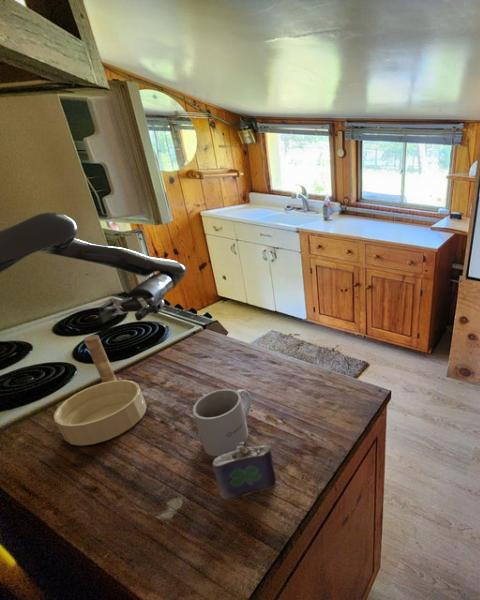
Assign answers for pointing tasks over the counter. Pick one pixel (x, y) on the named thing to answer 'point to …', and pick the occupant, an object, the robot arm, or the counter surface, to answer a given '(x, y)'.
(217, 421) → the mug
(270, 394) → the counter surface
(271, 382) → the counter surface
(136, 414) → the bowl
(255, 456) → the flask
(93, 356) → the stick
